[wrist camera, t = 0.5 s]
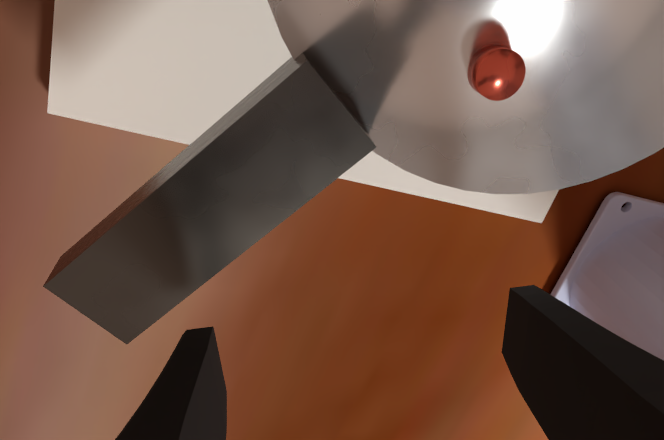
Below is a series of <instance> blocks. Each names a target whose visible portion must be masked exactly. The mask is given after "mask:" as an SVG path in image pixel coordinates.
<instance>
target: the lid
mask: <svg viewBox="0 0 664 440" xmlns="http://www.w3.org/2000/svg"><path fill="white" fill-rule="evenodd" d="M267 1H268V3H269V6H270V8H271V11H272V14H273V16H274V19H275V21H276V24H277V27H278V29H279V32H280V34H281V37H282V39H283V41H284V43H285V44H286V46H287V48H288V50H289V52H290V54H291V56H292V57H291V58H290V59H289V60H287V61H286V62H285V63H284V64H283V65H282V66H280V67H279V68H278V69H277V70H276V71H275V72H274V73H272V74H271V75H270V76H269V77H268V78H267V79H265V80H264V81H263V82H262V83H261V84H260V85H258V86H257V87H256V88H255V89H254V90H253V91H252V92H250V93H249V94H248V95H247V96H246V97H245V98H243V99H242V100H241V101H240V102H239V103H238V104H237V105H235V106H234V107H233V108H232V109H231V110H230V111H228V112H227V113H226V114H225V115H224V116H223V117H221V118H220V119H219V120H218V121H217V122H216V123H215V124H213V125H212V126H211V127H210V128H209V129H208V130H206V131H205V132H204V133H203V134H202V135H201V136H199V137H198V138H197V139H196V140H195V141H194V142H193V143H191V144H190V145H189V146H188V147H187V148H186V149H184V150H183V151H182V152H181V153H180V154H179V155H178V156H176V157H175V158H174V159H173V160H172V161H171V162H169V163H168V164H167V165H166V166H165V167H164V168H162V169H161V170H160V171H159V172H158V173H157V174H156V175H154V176H153V177H152V178H151V179H150V180H149V181H147V182H146V183H145V184H144V185H143V186H142V187H140V188H139V189H138V190H137V191H136V192H135V193H134V194H132V195H131V196H130V197H129V198H128V199H127V200H125V201H124V202H123V203H122V204H121V205H120V206H119V207H117V208H116V209H115V210H114V211H113V212H112V213H110V214H109V215H108V216H107V217H106V218H105V219H103V220H102V221H101V222H100V223H99V224H98V225H97V226H95V227H94V228H93V229H92V230H91V231H90V232H88V233H87V234H86V235H85V236H84V237H83V238H81V239H80V240H79V241H78V242H77V243H76V244H75V245H73V246H72V247H71V248H70V249H69V250H68V251H66V252H65V253H64V254H63V255H62V256H61V257H60V259H59V260H58V262H57V264H56V265H55V267H54V269H53V271H52V272H51V274H50V276H49V277H48V279H47V281H46V282H45V284H44V286H43V287H45V288H46V289H48V290H49V291H51V292H52V293H53V294H55V295H56V296H58V297H59V298H61V299H62V300H64V301H65V302H66V303H68V304H69V305H71V306H72V307H74V308H75V309H77V310H78V311H79V312H81V313H82V314H84V315H85V316H87V317H88V318H89V319H91V320H92V321H94V322H95V323H97V324H98V325H100V326H101V327H102V328H104V329H105V330H107V331H108V332H110V333H111V334H113V335H114V336H115V337H117V338H118V339H120V340H121V341H123V342H124V343H126V344H128V343H129V342H131V341H132V340H133V339H134V338H136V337H137V336H138V335H139V334H141V333H142V332H143V331H145V330H146V329H147V328H148V327H150V326H151V325H152V324H153V323H155V322H156V321H157V320H158V319H160V318H161V317H162V316H164V315H165V314H166V313H167V312H169V311H170V310H171V309H172V308H174V307H175V306H176V305H177V304H179V303H180V302H181V301H183V300H184V299H185V298H186V297H188V296H189V295H190V294H191V293H193V292H194V291H195V290H196V289H198V288H199V287H200V286H202V285H203V284H204V283H205V282H207V281H208V280H209V279H210V278H212V277H213V276H214V275H215V274H217V273H218V272H219V271H221V270H222V269H223V268H224V267H226V266H227V265H228V264H229V263H231V262H232V261H233V260H234V259H236V258H237V257H238V256H240V255H241V254H242V253H243V252H245V251H246V250H247V249H248V248H250V247H251V246H252V245H253V244H255V243H256V242H257V241H259V240H260V239H261V238H262V237H264V236H265V235H266V234H267V233H269V232H270V231H271V230H272V229H274V228H275V227H276V226H277V225H279V224H280V223H281V222H283V221H284V220H285V219H286V218H288V217H289V216H290V215H291V214H293V213H294V212H295V211H296V210H298V209H299V208H300V207H302V206H303V205H304V204H305V203H307V202H308V201H309V200H310V199H312V198H313V197H314V196H315V195H317V194H318V193H319V192H321V191H322V190H323V189H324V188H326V187H327V186H328V185H329V184H331V183H332V182H333V181H334V180H336V179H337V178H338V177H340V176H341V175H342V174H343V173H345V172H346V171H347V170H348V169H350V168H351V167H352V166H353V165H355V164H356V163H357V162H359V161H360V160H361V159H362V158H364V157H365V156H366V155H367V154H369V153H370V152H371V151H373V152H375V153H376V154H377V155H379V156H381V157H383V158H384V159H386V160H388V161H389V162H391V163H393V164H394V165H396V166H398V167H400V168H401V169H403V170H405V171H407V172H409V173H412V174H414V175H417V176H419V177H422V178H424V179H426V180H429V181H431V182H434V183H437V184H441V185H445V186H449V187H453V188H457V189H460V190H464V191H472V192H481V193H489V194H530V193H537V192H545V191H552V190H559V189H563V188H567V187H571V186H575V185H578V184H582V183H586V182H590V181H593V180H596V179H598V178H601V177H604V176H606V175H609V174H612V173H614V172H617V171H619V170H622V169H624V168H626V167H628V166H630V165H632V164H634V163H636V162H638V161H640V160H642V159H644V158H646V157H648V156H650V155H652V154H654V153H656V152H657V151H659V150H661V149H662V148H664V0H267Z"/></svg>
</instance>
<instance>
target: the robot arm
mask: <svg viewBox="0 0 664 440" xmlns="http://www.w3.org/2000/svg"><path fill="white" fill-rule="evenodd" d="M624 203H626V205H625V206H624V207H622V205H623V204H624ZM621 207H622V208H621ZM502 354H503V356H504V358H505V361H506V363H507V365H508V368H509V370H510V373H511V375H512V377H513V379H514V381H515V383H516V385H517V388H518V390H519V391H520V393H521V395H522V396H523V398H524V400H525V401H526V403H527V405H528V406H529V408H530V410H531V411H532V413H533V415H534V416H535V418H536V420H537V421H538V423H539V425H540V426H541V428H542V429H543V431H544V433H545V434H546V436H547V438H548V439H549V440H664V203H660V202H656V201H652V200H649V199H645V198H641V197H637V196H633V195H629V194H625V193H621V192H613V193H610V194H609V195H607V196H606V198H605V199H604V200H603V202H602V204H601V206H600V208H599V209H598V211H597V213H596V215H595V216H594V218H593V220H592V222H591V223H590V225H589V227H588V229H587V231H586V232H585V234H584V236H583V238H582V239H581V241H580V243H579V245H578V246H577V248H576V250H575V252H574V254H573V255H572V257H571V259H570V261H569V262H568V264H567V266H566V268H565V269H564V271H563V273H562V275H561V277H560V278H559V280H558V282H557V284H556V285H555V287H554V289H553V291H552V292H551V294H549V293H547V292H545V291H543V290H542V289H540V288H538V287H536V286H534V285H531V286H523V287H515V288H510V292H509V300H508V307H507V315H506V323H505V331H504V339H503V347H502ZM226 428H227V391H226V386H225V381H224V376H223V371H222V367H221V362H220V357H219V352H218V347H217V342H216V337H215V333H214V328H213V327H206V328H198V329H191V330H186V331H185V333H184V334H183V335H182V337H181V339H180V341H179V343H178V344H177V346H176V348H175V350H174V352H173V353H172V355H171V357H170V359H169V360H168V362H167V364H166V365H165V367H164V369H163V371H162V372H161V374H160V375H159V377H158V379H157V380H156V382H155V383H154V385H153V386H152V388H151V390H150V391H149V393H148V394H147V396H146V397H145V399H144V400H143V402H142V403H141V405H140V406H139V408H138V409H137V410H136V412H135V413H134V415H133V416H132V417H131V419H130V420H129V422H128V423H127V424H126V426H125V427H124V429H123V430H122V431H121V433H120V434H119V435H118V437H117V438H116V439H115V440H226Z"/></svg>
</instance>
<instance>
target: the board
mask: <svg viewBox="0 0 664 440" xmlns="http://www.w3.org/2000/svg"><path fill="white" fill-rule="evenodd" d="M291 57H292V56H291V54H290V52H289V50H288V48H287V46H286V44H285V43H284V41H283V39H282V37H281V34H280V32H279V29H278V27H277V24H276V21H275V19H274V16H273V14H272V11H271V8H270V6H269V3H268V1H267V0H55V4H54V19H53V34H52V50H51V65H50V80H49V96H48V111H47V113H49V114H54V115H58V116H63V117H67V118H72V119H76V120H81V121H85V122H90V123H94V124H99V125H103V126H108V127H112V128H117V129H121V130H126V131H130V132H135V133H139V134H144V135H148V136H153V137H157V138H162V139H166V140H171V141H175V142H180V143H184V144H189V145H190V144H191V143H193V142H194V141H195V140H196V139H197V138H198V137H199V136H201V135H202V134H203V133H204V132H205V131H206V130H208V129H209V128H210V127H211V126H212V125H213V124H215V123H216V122H217V121H218V120H219V119H220V118H221V117H223V116H224V115H225V114H226V113H227V112H228V111H230V110H231V109H232V108H233V107H234V106H235V105H237V104H238V103H239V102H240V101H241V100H242V99H243V98H245V97H246V96H247V95H248V94H249V93H250V92H252V91H253V90H254V89H255V88H256V87H257V86H258V85H260V84H261V83H262V82H263V81H264V80H265V79H267V78H268V77H269V76H270V75H271V74H272V73H274V72H275V71H276V70H277V69H278V68H279V67H280V66H282V65H283V64H284V63H285V62H286V61H287V60H289V59H290V58H291ZM338 178H341V179H346V180H350V181H355V182H359V183H364V184H368V185H372V186H377V187H381V188H386V189H390V190H395V191H399V192H404V193H408V194H413V195H417V196H422V197H426V198H431V199H435V200H440V201H444V202H449V203H453V204H458V205H462V206H467V207H471V208H476V209H480V210H485V211H489V212H494V213H498V214H503V215H507V216H512V217H516V218H521V219H525V220H530V221H534V222H539V223H542V222H543V220H544V218H545V216H546V214H547V212H548V210H549V208H550V206H551V204H552V202H553V201H554V199H555V197H556V195H557V193H558V191H559V190H552V191H545V192H537V193H530V194H489V193H481V192H472V191H464V190H460V189H457V188H453V187H449V186H445V185H441V184H437V183H434V182H431V181H429V180H426V179H424V178H422V177H419V176H417V175H414V174H412V173H409V172H407V171H405V170H403V169H401V168H400V167H398V166H396V165H394V164H393V163H391V162H389V161H388V160H386V159H384V158H383V157H381V156H379V155H377V154H376V153H375V152H373V151H371V152H370V153H369V154H367V155H366V156H365V157H364V158H362V159H361V160H360V161H359V162H357V163H356V164H355V165H353V166H352V167H351V168H350V169H348V170H347V171H346V172H345V173H343V174H342V175H341V176H340V177H338Z"/></svg>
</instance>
